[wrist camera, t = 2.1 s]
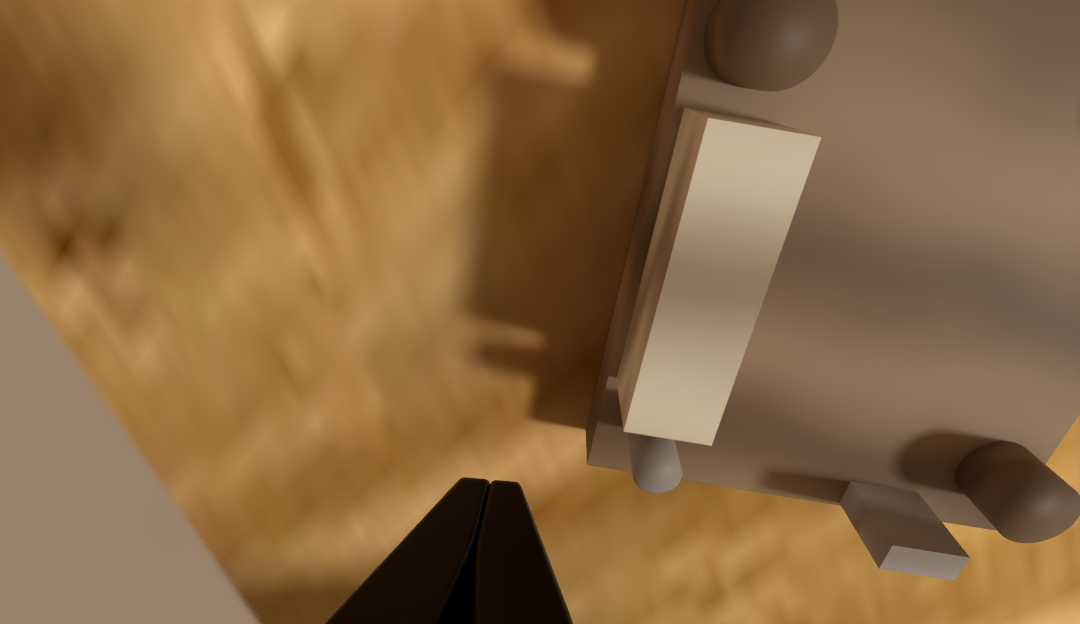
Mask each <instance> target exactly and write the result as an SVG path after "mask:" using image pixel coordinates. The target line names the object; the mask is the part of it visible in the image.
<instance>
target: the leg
mask: <svg viewBox="0 0 1080 624" xmlns="http://www.w3.org/2000/svg"><path fill="white" fill-rule="evenodd" d="M820 140H821V137H819V136H816V135H813V134H810V133H807V132H803V131H800V130H797V129H794V128H791V127H788V126H784V125H781V124H778V123H772V122H766V121H761V120H755V119H749V118H743V117H737V116H731V115H726V114H720V113H714V112H708V111H702V110H696V109H691V108H685V107H684V111H683V115H682V119H681V123H680V127H679V131H678V135H677V139H676V143H675V147H674V151H673V155H672V159H671V163H670V167H669V171H668V175H667V179H666V183H665V187H664V191H663V195H662V199H661V203H660V207H659V211H658V215H657V219H656V223H655V227H654V231H653V235H652V239H651V243H650V247H649V251H648V255H647V259H646V263H645V267H644V271H643V275H642V279H641V283H640V287H639V291H638V295H637V299H636V303H635V307H634V311H633V315H632V319H631V323H630V327H629V331H628V335H627V339H626V343H625V347H624V351H623V355H622V359H621V363H620V367H619V371H618V375H617V379H616V380H617V387H618V394H619V402H620V409H621V416H622V424H623V431H624V432H629V433H636V434H642V435H648V436H654V437H660V438H666V439H673V440H679V441H685V442H691V443H697V444H704V445H710V446H712V443H713V441H714V438H715V435H716V432H717V429H718V426H719V424H720V421H721V418H722V415H723V412H724V410H725V407H726V404H727V401H728V398H729V396H730V393H731V390H732V387H733V384H734V382H735V379H736V376H737V373H738V370H739V367H740V365H741V362H742V359H743V356H744V353H745V351H746V348H747V345H748V342H749V339H750V337H751V334H752V331H753V328H754V325H755V323H756V320H757V317H758V314H759V311H760V309H761V306H762V303H763V300H764V297H765V294H766V292H767V289H768V286H769V283H770V280H771V278H772V275H773V272H774V269H775V266H776V264H777V261H778V258H779V255H780V252H781V250H782V247H783V244H784V241H785V238H786V235H787V233H788V230H789V227H790V224H791V221H792V219H793V216H794V213H795V210H796V207H797V205H798V202H799V199H800V196H801V193H802V191H803V188H804V185H805V182H806V179H807V176H808V174H809V171H810V168H811V165H812V162H813V160H814V157H815V154H816V151H817V148H818V146H819V143H820Z"/></svg>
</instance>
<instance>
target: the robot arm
mask: <svg viewBox="0 0 1080 624" xmlns="http://www.w3.org/2000/svg"><path fill="white" fill-rule="evenodd" d="M325 624H573V622H572V619H571V617H570V614H569V611H568V609H567V606H566V603H565V601H564V598H563V595H562V593H561V590H560V588H559V585H558V582H557V580H556V577H555V574H554V572H553V569H552V567H551V564H550V561H549V559H548V556H547V553H546V551H545V548H544V545H543V543H542V540H541V538H540V535H539V532H538V530H537V527H536V524H535V522H534V519H533V516H532V514H531V511H530V509H529V506H528V503H527V501H526V498H525V495H524V493H523V490H522V488H521V486H520V484H519V483H517V482H510V481H499V480H494V481H492V482H491V484H490V483H489V481H488V480H486V479H477V478H466V477H465V478H461V479H460V480H458V482H457V483H456V484H455V485H454V486H453V487H452V488H451V489H450V490H449V491H448V492H447V493H446V494H445V495H444V497H443V498H442V499H441V500H440V501H439V502H438V503H437V504H436V505H435V506H434V507H433V508H432V509H431V510H430V512H429V513H428V514H427V515H426V516H425V517H424V518H423V519H422V520H421V521H420V522H419V523H418V524H417V525H416V527H415V528H414V529H413V530H412V531H411V532H410V533H409V534H408V535H407V536H406V537H405V538H404V539H403V540H402V542H401V543H400V544H399V545H398V546H397V547H396V548H395V549H394V550H393V551H392V552H391V553H390V554H389V556H388V557H387V558H386V559H385V560H384V561H383V562H382V563H381V564H380V565H379V566H378V567H377V568H376V569H375V571H374V572H373V573H372V574H371V575H370V576H369V577H368V578H367V579H366V580H365V581H364V582H363V583H362V584H361V586H360V587H359V588H358V589H357V590H356V591H355V592H354V593H353V594H352V595H351V596H350V597H349V598H348V599H347V601H346V602H345V603H344V604H343V605H342V606H341V607H340V608H339V609H338V610H337V611H336V612H335V613H334V614H333V616H332V617H331V618H330V619H329V620H328V621H327V622H326V623H325Z"/></svg>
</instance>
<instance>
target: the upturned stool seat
mask: <svg viewBox="0 0 1080 624" xmlns="http://www.w3.org/2000/svg"><path fill="white" fill-rule="evenodd" d="M684 107H685V108H691V109H696V110H702V111H708V112H714V113H720V114H726V115H731V116H737V117H743V118H749V119H755V120H761V121H766V122H772V123H778V124H781V125H784V126H788V127H791V128H794V129H797V130H800V131H803V132H807V133H810V134H813V135H816V136H819V137H821V140H820V143H819V146H818V148H817V151H816V154H815V157H814V160H813V162H812V165H811V168H810V171H809V174H808V176H807V179H806V182H805V185H804V188H803V191H802V193H801V196H800V199H799V202H798V205H797V207H796V210H795V213H794V216H793V219H792V221H791V224H790V227H789V230H788V233H787V235H786V238H785V241H784V244H783V247H782V250H781V252H780V255H779V258H778V261H777V264H776V266H775V269H774V272H773V275H772V278H771V280H770V283H769V286H768V289H767V292H766V294H765V297H764V300H763V303H762V306H761V309H760V311H759V314H758V317H757V320H756V323H755V325H754V328H753V331H752V334H751V337H750V339H749V342H748V345H747V348H746V351H745V353H744V356H743V359H742V362H741V365H740V367H739V370H738V373H737V376H736V379H735V382H734V384H733V387H732V390H731V393H730V396H729V398H728V401H727V404H726V407H725V410H724V412H723V415H722V418H721V421H720V424H719V426H718V429H717V432H716V435H715V438H714V441H713V443H712V446H710V445H704V444H697V443H691V442H685V441H679V440H673V439H666V438H660V437H654V436H648V435H642V434H636V433H629V432H624V431H623V424H622V416H621V409H620V402H619V394H618V387H617V380H616V379H617V375H618V371H619V367H620V363H621V359H622V355H623V351H624V347H625V343H626V339H627V335H628V331H629V327H630V323H631V319H632V315H633V311H634V307H635V303H636V299H637V295H638V291H639V287H640V283H641V279H642V275H643V271H644V267H645V263H646V259H647V255H648V251H649V247H650V243H651V239H652V235H653V231H654V227H655V223H656V219H657V215H658V211H659V207H660V203H661V199H662V195H663V191H664V187H665V183H666V179H667V175H668V171H669V167H670V163H671V159H672V155H673V151H674V147H675V143H676V139H677V135H678V131H679V127H680V123H681V119H682V115H683V111H684ZM1079 414H1080V0H686V5H685V9H684V13H683V18H682V22H681V26H680V30H679V35H678V39H677V43H676V47H675V52H674V56H673V60H672V65H671V69H670V73H669V77H668V82H667V86H666V90H665V95H664V99H663V103H662V107H661V112H660V116H659V120H658V124H657V129H656V133H655V137H654V142H653V146H652V150H651V154H650V159H649V163H648V167H647V171H646V176H645V180H644V184H643V189H642V193H641V197H640V201H639V206H638V210H637V214H636V218H635V223H634V227H633V231H632V236H631V240H630V244H629V248H628V253H627V257H626V261H625V265H624V270H623V274H622V278H621V283H620V287H619V291H618V295H617V300H616V304H615V308H614V312H613V317H612V321H611V325H610V330H609V334H608V338H607V342H606V347H605V351H604V355H603V360H602V364H601V368H600V372H599V377H598V381H597V385H596V389H595V394H594V398H593V402H592V407H591V411H590V415H589V419H588V424H587V428H586V447H587V465H592V466H598V467H604V468H610V469H617V470H623V471H629V472H633V478H634V481H635V483H636V484H637V486H638V487H639V488H641V489H642V490H644V491H646V492H650V493H664V492H667V491H670V490H672V489H673V488H675V487H676V486H677V485H678V484H679V483H680V481H681V480H685V481H692V482H698V483H704V484H710V485H716V486H723V487H729V488H735V489H741V490H748V491H754V492H760V493H766V494H773V495H779V496H785V497H791V498H797V499H804V500H810V501H816V502H822V503H829V504H835V505H841V506H842V508H843V509H844V511H845V513H846V514H847V516H848V518H849V519H850V521H851V523H852V524H853V526H854V528H855V529H856V531H857V533H858V534H859V536H860V538H861V539H862V541H863V543H864V544H865V546H866V548H867V549H868V551H869V553H870V554H871V556H872V558H873V559H874V561H875V563H876V564H877V566H878V568H879V569H885V570H891V571H897V572H904V573H910V574H916V575H923V576H929V577H935V578H941V579H948V580H954V581H955V579H956V578H957V576H958V575H959V573H960V572H961V570H962V569H963V567H964V566H965V564H966V563H967V561H968V560H969V558H970V557H969V556H968V555H967V553H966V552H965V551H964V550H963V548H962V547H961V546H960V545H959V543H958V542H957V541H956V540H955V538H954V537H953V536H952V535H951V533H950V532H949V531H948V530H947V528H946V527H945V526H944V524H943V523H942V522H947V523H953V524H959V525H966V526H972V527H978V528H984V529H991V530H997V531H998V532H999V533H1000V534H1001V535H1002V536H1003V537H1005V538H1007V539H1009V540H1011V541H1014V542H1020V543H1034V542H1040V541H1044V540H1047V539H1050V538H1053V537H1055V536H1057V535H1059V534H1061V533H1062V532H1064V531H1066V530H1067V529H1068V528H1069V527H1070V526H1072V525H1073V524H1074V522H1075V521H1076V520H1077V519H1078V517H1079V515H1080V495H1079V494H1078V493H1077V492H1076V491H1075V490H1074V489H1073V488H1072V487H1071V486H1070V485H1068V484H1067V483H1066V482H1065V481H1064V480H1063V479H1061V478H1060V477H1059V476H1058V475H1057V474H1056V473H1054V472H1053V471H1052V470H1051V469H1050V468H1049V467H1047V466H1046V465H1045V464H1046V462H1047V461H1048V460H1049V458H1050V457H1051V455H1052V454H1053V452H1054V451H1055V449H1056V448H1057V446H1058V445H1059V443H1060V442H1061V440H1062V439H1063V438H1064V436H1065V435H1066V433H1067V432H1068V430H1069V429H1070V427H1071V426H1072V424H1073V423H1074V421H1075V420H1076V419H1077V417H1078V416H1079Z"/></svg>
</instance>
